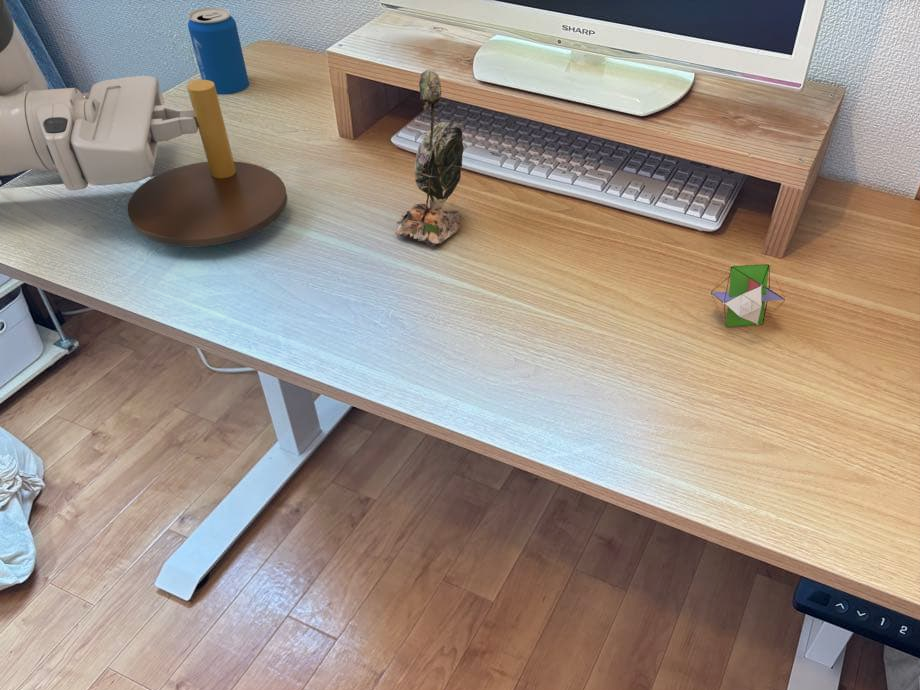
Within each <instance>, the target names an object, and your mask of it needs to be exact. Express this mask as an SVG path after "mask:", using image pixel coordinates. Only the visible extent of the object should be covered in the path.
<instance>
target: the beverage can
mask: <svg viewBox="0 0 920 690" xmlns="http://www.w3.org/2000/svg"><path fill="white" fill-rule="evenodd" d="M237 26H238V25H237V22H236V20H235V18H233V16H232V15H231V11H230V10H229V9H226V8H223V7H217V6H216V7H214V6H211V7H209V6H208V7H203V8H198V9H195V10H193V11H190V12H189V13H188V22H187V28H188V31H189V36H190V41H191V44H192V47H193V52H194V55H195V58H196V59H195V60H196V63H197V67H198V71H199V73H200V77H201V78H200V79H201V80H209V81H212V82H213V83H214V84H215V88H216V92H217V95H219V96H220V95H223V96H225V95H232V94H238V93H241V92H243V91H245V90H247V88H248V87H250V82H249V77H248V72H247V67H246V62H245V58H244V54H243V50H242V44H241V40H240V35H239V32H238V27H237Z"/></svg>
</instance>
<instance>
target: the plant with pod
mask: <svg viewBox="0 0 920 690" xmlns="http://www.w3.org/2000/svg"><path fill="white" fill-rule="evenodd" d="M418 86H419V87H418V88H419V99H420V100H421V101H422V102H423V103H424V104H423V105H424V106H423V107H422V108H423V114H424V115H426V113H427V108H428V107H429V106H430V129H429V130H428V132H427V133H426V134H425V136H424V137H423V138H422V139H421V141H420V143H419V145H418V148H417V153H416V154H415V157H414V176H415V178H414V181H415V184H416V186H417V188H418V189H419V190H420V191H421V192H423V193H425V194H426V201H425V202H426V203H418V204H414V205H413V206H412V207H410V208H409V210H407V211H404V212H403V213H402V214H400V219H399V221H397V222H396V224H397V225H398V226H396V229H395V232H394V234H395V235H396V236H397V237H403V236H404V237H406V236H407V235H409V237H410V239H411V238H412V237H413V240H417V242H422V243H425V244H426V246H427V245H428V246H429V247H434V246H439V245H441V244H442V243H443V242H446V240H448V239H449V238H450V237H451V236H452V235H454V234H455V233H457V232H458V231H459V230H460V229H461V227H460V225H461V223H460V218H461V216H460V213H459V210H456V211H455V209H454V210H451V211H449V210H448V211H447V210H444V209H443V206H444V205H445V203H446V202H447V200H448V199H449V197H450V196H451V195H452V194H453V192H454V191H455V190H456V188H457V186H458V184H459V183H460V182H461V177H462V175H461V174H462V168H463V154H464V149H465V148H464V144H463V143H464V140H463V130H462V127H461V126H460V125H458V124H456V123H455V122H447V121H440V122H438V123H436V125H434V123H435V104H439V103H440V101H441V99H442V92H443V91H442V85H441V80H440V75H439V74H438V73H437V72H435V71H433V70H430V69H426V70H425V71H422V73H421V74H420V79H419V81H418ZM461 124H465V121H463V120H461ZM429 198H430V199H429Z"/></svg>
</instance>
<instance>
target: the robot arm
mask: <svg viewBox="0 0 920 690" xmlns="http://www.w3.org/2000/svg"><path fill="white" fill-rule="evenodd" d="M198 131H199V128H198V125H197V121H196V118H195V114H194V110H193V107H191V108H178V107H175V106H170V105H166V104H165V98H164V95H163V92H162V88H161V84H160V82H159V80H158V78H156V77H154V76H151V75H136V76H134V75H133V76H126V77H118V78H110V79H105V80H101V81H99V82H96V83H94V84H93V85H92V86H91V88H90V91H88V92H83V93H82V92H81V90H79V89H78V88H76V87H65V88H49V86H48V83H47V80H46V77H45V75H44V73H43V71H42V70H41V68H40V66H39V64H38V62H37V61H36V59H35V57H34V54H33V52H32V51H31V49H30V47H29V46H28V44H27V42H26V40H25V39H24V37H23V35H22V33H21V31H20V29H19V27H18V26H17V24H16V22H15V21H14V18H13V16H12V13H11V11H10V9H9V7H8V5H7V2H6V0H0V177H4V176H13V175H17V174H19V173H22V172H26V171H32V170H33V171H39V172H40V171H41V172H45V173H53V172H58V174H59V176H60V178H61V180H62V182H63V184H64V186H65V188H66V190H68V191H80V190H85V189H86V188H87V187H88V185H92V186H111V185H120V184H129V183H134V182H135V183H136V182H140V181H143V180H145V179H148V178H150V177H151V176H153V174H154V170H155V169H154V168H155V164H156V156H157V150H158V145H159V144H158V143H159V142H169V141H171V140H173V139H176V138H178V137H180V136H181V137H182V135H192V134H196V133H198Z"/></svg>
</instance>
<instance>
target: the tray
mask: <svg viewBox="0 0 920 690" xmlns="http://www.w3.org/2000/svg"><path fill="white" fill-rule="evenodd" d="M186 89H187V93H188V96H189V99H190V103H191V106H192V107H191V108H192V109H193V110H194V114H195V118H196V121H197V125H198V131H199V136H200V139H201V142H202V146H203V149H204V154H205V157H206V161H202V162H197V163H196V162H195V163H191V164H185V165H182V166H178V167H175V168H172V169H169V170H166V171H164V172H162V173H159V174H157V175H155V176H153V177H152V178H150V179H148V180H146V181H145V182H143V184H141V185H140V186H139V187H138V188H137V189H136V190H135V191H134V192H133V193H132V195H131V196H130V198H129V200H128V203H127V209H126V211H127V216H128V218H129V221H130V223H131V225H132V227H133V228H134V229H135V231H137V232H138V233H139V234H140V235H141V236H143V237H145V238H146V239H149V240H151V241H153V242H155V243H160V244H164V245H167V246H174V247H186V248H187V247H189V248H191V247H192V248H194V247H195V248H196V247H211V246H216V245H223V244H227V243H231V242H235V241H239V240H242V239H245V238H247V237H249V236H252V235H255V234H257V233H258V232H260V231H262V230H264V229H266V228H268V227H269V226H270V225H271V224H273V223H274V222H275V221H276V220H278V219H279V217H280V216H281V215H282V214H283V212H284V211H285V210H286V206H287V203H288V193H287V189H286V185H285V183H284V182H283V180H282V178H281V177H280V176H278V175H277V174H276V173H275V172H273V171H272V170H270V169H268V168H265V167H263V166H260V165H257V164H254V163H250V162H244V161H235V160H234V156H233V153H232V148H231V144H230V141H229V137H228V132H227V128H226V125H225V121H224V116H223V113H222V112H223V111H222V108H221V104H220V101H219V100H220V99H219V96H218V94H217V92H216V88H215V84H214V83H213V82H212V81H209V80H202V79H197V80H194V81H191V82H189V83H188V84H187V85H186Z"/></svg>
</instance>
